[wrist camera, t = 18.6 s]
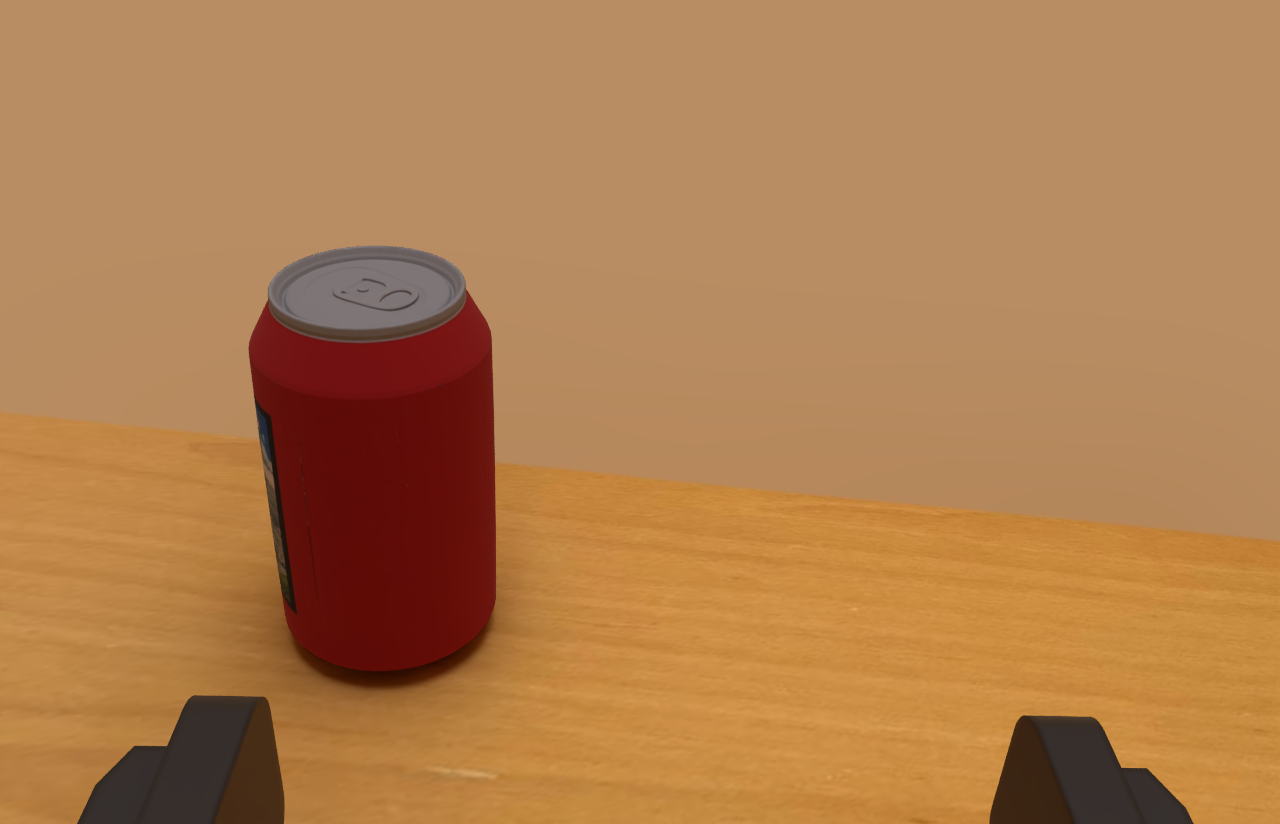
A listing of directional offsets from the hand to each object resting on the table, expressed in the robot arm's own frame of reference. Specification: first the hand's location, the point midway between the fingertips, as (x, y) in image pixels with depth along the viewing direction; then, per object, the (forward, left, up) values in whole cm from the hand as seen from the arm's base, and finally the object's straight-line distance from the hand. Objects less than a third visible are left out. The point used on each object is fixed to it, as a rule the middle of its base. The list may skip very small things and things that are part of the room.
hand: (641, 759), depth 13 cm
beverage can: (+15, -16, -17) cm, 28 cm away
